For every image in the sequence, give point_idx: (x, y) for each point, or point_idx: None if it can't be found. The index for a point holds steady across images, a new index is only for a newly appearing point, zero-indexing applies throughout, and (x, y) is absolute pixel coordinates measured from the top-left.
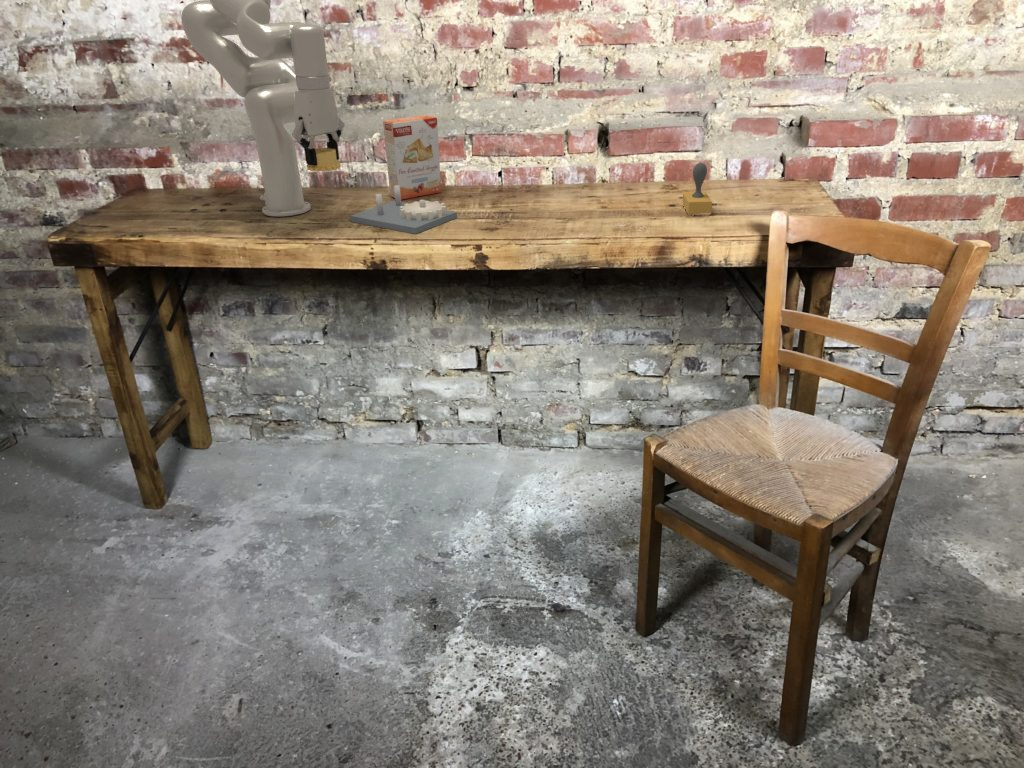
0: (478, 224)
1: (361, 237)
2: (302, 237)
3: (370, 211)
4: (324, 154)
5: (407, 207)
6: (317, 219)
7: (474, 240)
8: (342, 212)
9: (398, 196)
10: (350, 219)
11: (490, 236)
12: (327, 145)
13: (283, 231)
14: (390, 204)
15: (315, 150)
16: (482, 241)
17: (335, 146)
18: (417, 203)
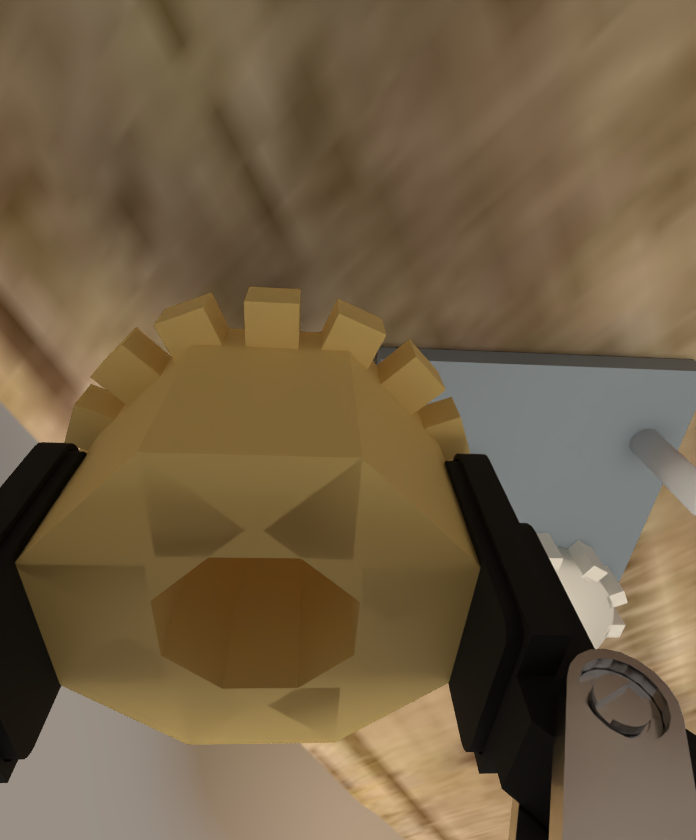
0: None
1: None
2: (39, 321)
3: (492, 399)
4: (163, 718)
5: None
6: (330, 120)
7: (372, 767)
8: (525, 159)
9: (659, 479)
10: (379, 352)
11: (421, 775)
12: (493, 600)
13: (20, 115)
14: (646, 402)
15: (32, 741)
16: (374, 780)
17: (460, 721)
18: (572, 592)
